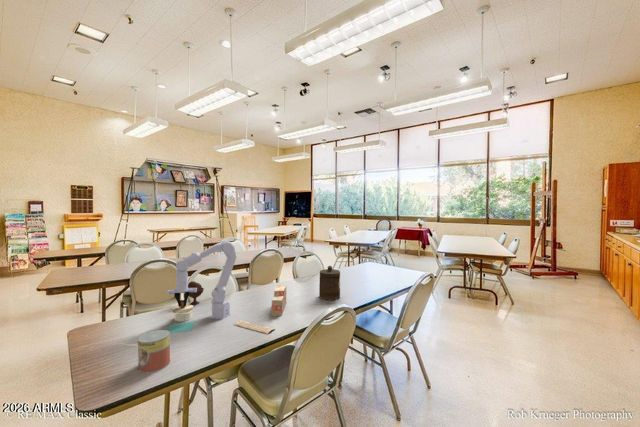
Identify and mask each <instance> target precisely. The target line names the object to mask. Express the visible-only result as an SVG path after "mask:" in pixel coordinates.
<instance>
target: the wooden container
mask: <svg viewBox="0 0 640 427" xmlns="http://www.w3.org/2000/svg"><path fill="white" fill-rule="evenodd" d="M318 286H319V288H318V289H319V291H318V292H319V293H318V294H319V298H320V299H322V300H326V301H329V300H330V301H331V300H337V299H338V300H339V299H340V298H341V270H338V269H333V266H332V265H328V266H327V269H325V268H324V269H320V270H319V284H318Z"/></svg>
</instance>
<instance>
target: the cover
mask: <svg viewBox="0 0 640 427" xmlns="http://www.w3.org/2000/svg"><path fill="white" fill-rule="evenodd" d="M191 310H194V305H191V304H186V306H184V299H180V307H179V306H178V305H175V306H173V307H172V308H171V309H170V311H171V313H173V314H175V313H183V312H188V311H191Z"/></svg>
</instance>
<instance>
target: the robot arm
mask: <svg viewBox="0 0 640 427" xmlns="http://www.w3.org/2000/svg"><path fill="white" fill-rule="evenodd" d="M222 252H223V253H224V255H225V257H226V260H225V263H224V264H223V265H224V266H223V268H222V270H221V273H220V276H219V279H218V281H217V283H216V286H215V287H214V289H213V290H212V292H211V297H212V300H211V315H210V316H208V318H209V319H218V320H224V319H225V318H227V317H228V316H231V313H230V312H231V311H230V303H229V302H228V301H226V300H225V299H226V292H227V286H228V285H227V284H228V282H229V279H230V277H231V274H232V271H233V268H234V265H235V262H236V260H237V254H236V249H235V246H234V245H233V244H232V242H229V241H228V240H223V241H221V242H218V243H216V244H213V245H212V246H210V247H208V248H206V249H204V250H202V251H201V252H191V254H189V255H188V256H186V257H185V256H183V258H182V259H179V260H177V261H176V263H175V268H176V273H175V282H176V284H175V285H176V287H175V289H168V290H167V291H166V293H167V296H169V295H174V298H175V300H176V302H177V306H179V307H180V300H181V296H182V295H181V294H183V297H184V298H183V300H184V306H186V305H187V304H188V303H187V302H188V298H189V294H190V292H197V288H188V284H189V280H188V279H189V275H188V274H189V273H188V268H190V267H193V266H194V265H197V264H198V263H200V262H202V259H204V258H206V257H207V256H209V255H212V254H214V253H222Z"/></svg>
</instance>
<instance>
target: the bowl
mask: <svg viewBox="0 0 640 427" xmlns="http://www.w3.org/2000/svg"><path fill="white" fill-rule="evenodd" d="M193 310H194V309H192V310H191V311H188V312H183V313H174V321H175V322H180V323H182V322H187V321H189V320H191V319H193V315H194V314H193V313H194V311H193Z"/></svg>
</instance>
